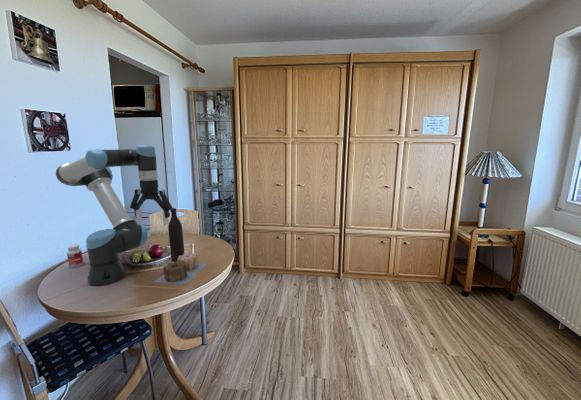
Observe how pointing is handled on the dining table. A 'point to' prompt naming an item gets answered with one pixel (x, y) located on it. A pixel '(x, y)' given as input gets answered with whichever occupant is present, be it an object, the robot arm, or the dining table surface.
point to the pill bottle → (75, 256)
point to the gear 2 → (189, 260)
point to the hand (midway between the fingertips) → (152, 223)
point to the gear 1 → (175, 271)
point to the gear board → (189, 276)
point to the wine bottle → (175, 236)
